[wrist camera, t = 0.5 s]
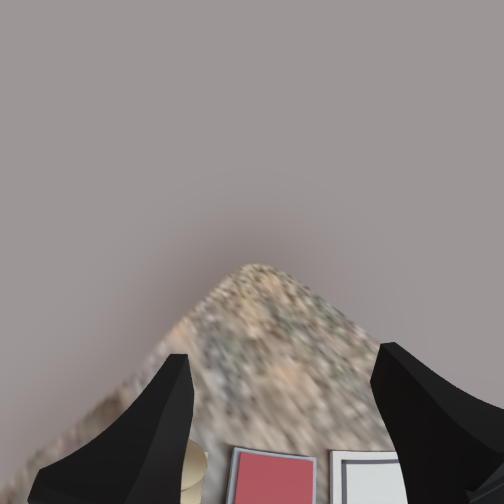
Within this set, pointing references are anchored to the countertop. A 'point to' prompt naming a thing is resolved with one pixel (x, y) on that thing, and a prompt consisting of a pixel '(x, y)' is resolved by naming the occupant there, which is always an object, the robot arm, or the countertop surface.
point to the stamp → (193, 473)
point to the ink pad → (270, 478)
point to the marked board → (366, 478)
